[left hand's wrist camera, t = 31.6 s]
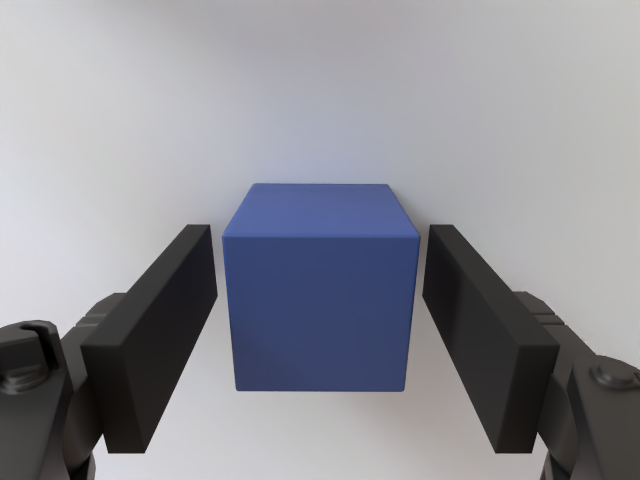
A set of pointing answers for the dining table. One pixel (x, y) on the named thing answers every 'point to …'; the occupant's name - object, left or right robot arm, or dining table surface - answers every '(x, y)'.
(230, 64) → the dining table surface
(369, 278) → the block
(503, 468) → the dining table surface
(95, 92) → the dining table surface
